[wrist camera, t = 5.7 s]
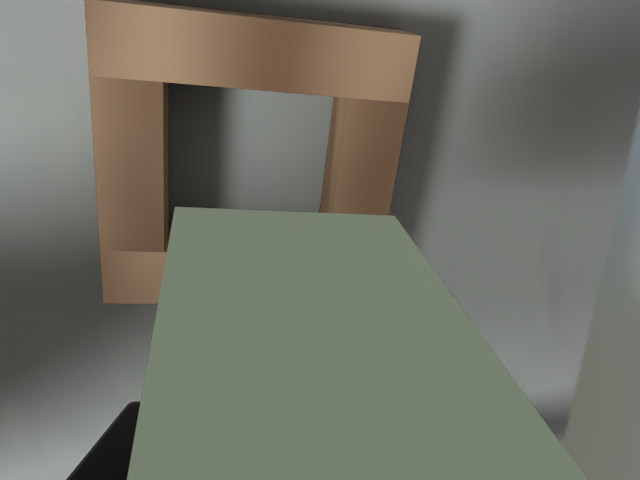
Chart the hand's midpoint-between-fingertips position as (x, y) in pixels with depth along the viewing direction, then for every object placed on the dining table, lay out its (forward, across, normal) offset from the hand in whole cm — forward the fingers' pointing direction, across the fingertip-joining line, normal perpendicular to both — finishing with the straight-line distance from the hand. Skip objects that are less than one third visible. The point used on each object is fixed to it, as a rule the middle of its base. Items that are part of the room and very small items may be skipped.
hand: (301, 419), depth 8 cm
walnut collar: (+13, 0, 0) cm, 13 cm away
